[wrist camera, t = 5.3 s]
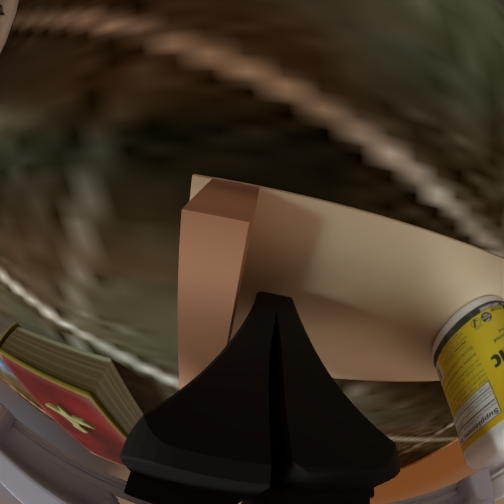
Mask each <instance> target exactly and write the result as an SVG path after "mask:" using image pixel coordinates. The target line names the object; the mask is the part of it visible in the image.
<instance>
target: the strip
mask: <svg viewBox="0 0 504 504" xmlns="http://www.w3.org/2000/svg"><path fill="white" fill-rule="evenodd" d="M260 291H262V292H267V293H272V294H277V295H282V296H288V297H291V298H292V299H293V301H294V304H295V307H296V309H297V312H298V315H299V317H300V319H301V322H302V324H303V326H304V328H305V331H306V333H307V335H308V337H309V339H310V341H311V343H312V345H313V347H314V349H315V350H316V352H317V354H318V356H319V358H320V359H321V361H322V363H323V364H324V366H325V368H326V369H327V371H328V372H329V374H330V375H331V377H332V378H338V379H351V380H368V381H440V379H439V376H438V374H437V371H436V368H435V366H434V363H433V360H432V347H433V344H434V342H435V339H436V337H437V336H438V334H439V332H440V331H441V329H442V328H443V326H444V325H445V324H446V323H447V321H448V320H449V319H450V318H451V317H452V316H453V315H454V314H455V313H456V312H457V311H458V310H460V309H461V308H462V307H463V306H465V305H466V304H468V303H470V302H471V301H473V300H475V299H478V298H480V297H484V296H490V295H493V296H497V297H499V298H501V299H502V300H503V301H504V258H503V257H501V256H498V255H496V254H493V253H491V252H488V251H486V250H483V249H480V248H478V247H475V246H473V245H470V244H467V243H464V242H462V241H459V240H456V239H453V238H451V237H448V236H445V235H442V234H439V233H436V232H433V231H430V230H427V229H424V228H421V227H418V226H415V225H412V224H408V223H405V222H402V221H399V220H395V219H392V218H389V217H385V216H382V215H378V214H375V213H371V212H368V211H364V210H361V209H357V208H353V207H349V206H346V205H342V204H338V203H334V202H330V201H326V200H322V199H318V198H314V197H309V196H305V195H301V194H296V193H292V192H287V191H283V190H278V189H274V188H269V187H264V186H259V185H254V184H249V183H244V182H238V181H233V180H227V179H222V178H216V177H210V176H204V175H198V174H193V175H192V182H191V192H190V201H189V202H188V203H187V204H186V205H185V206H184V207H183V209H182V214H181V228H180V246H179V270H178V362H179V385H180V389H181V388H183V387H184V386H185V385H187V384H188V383H189V382H190V381H192V380H193V379H194V378H195V377H196V376H197V375H199V374H200V373H201V372H202V371H203V370H204V369H205V368H206V367H207V366H208V365H209V364H210V363H211V362H212V361H213V360H214V359H215V358H216V357H217V356H218V355H219V354H220V353H221V351H222V350H223V349H224V348H225V347H226V345H227V344H228V343H229V342H230V340H231V339H232V338H233V336H234V335H235V334H236V332H237V331H238V330H239V328H240V327H241V325H242V324H243V322H244V320H245V319H246V317H247V316H248V314H249V312H250V310H251V308H252V306H253V304H254V301H255V298H256V294H257V293H258V292H260Z"/></svg>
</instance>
